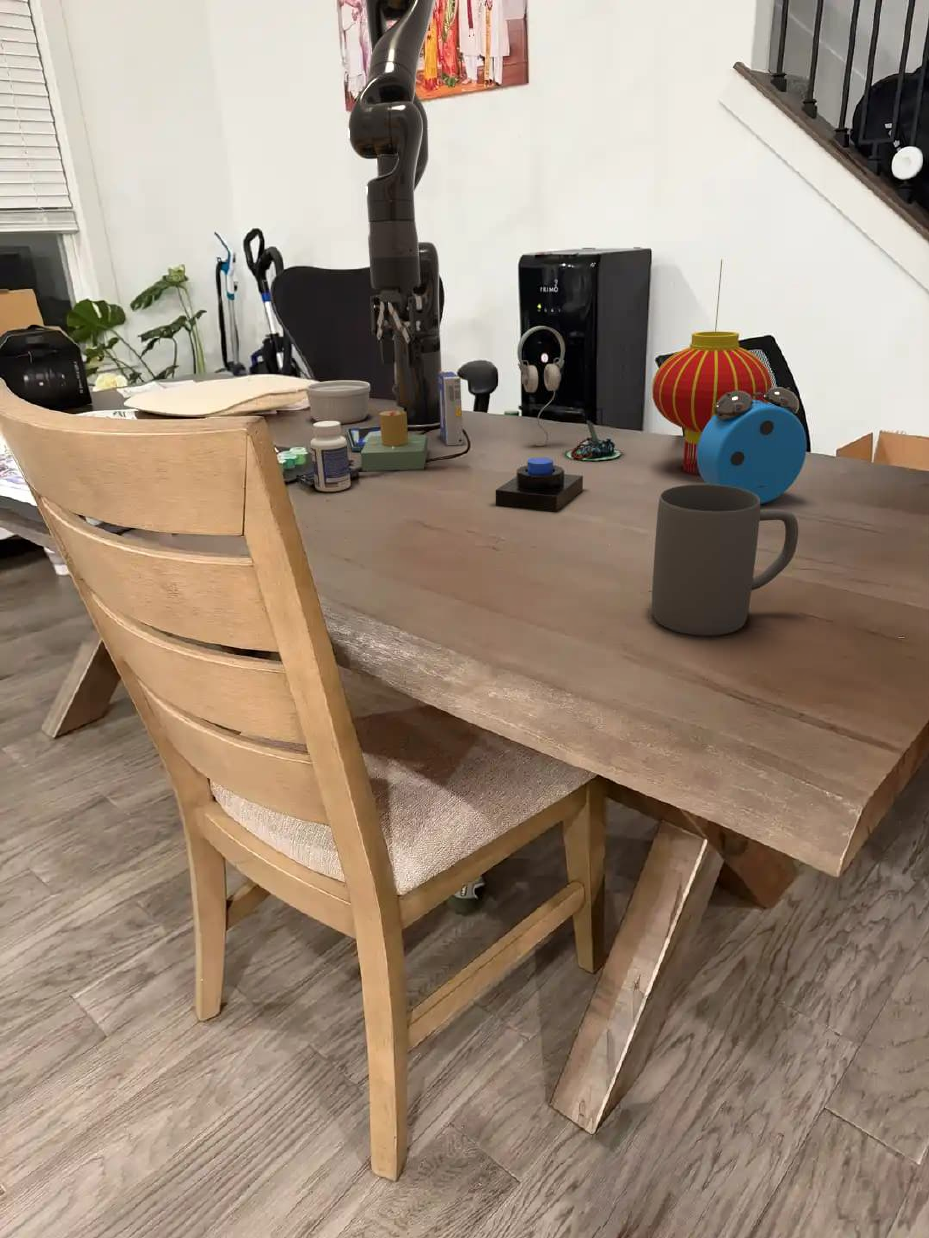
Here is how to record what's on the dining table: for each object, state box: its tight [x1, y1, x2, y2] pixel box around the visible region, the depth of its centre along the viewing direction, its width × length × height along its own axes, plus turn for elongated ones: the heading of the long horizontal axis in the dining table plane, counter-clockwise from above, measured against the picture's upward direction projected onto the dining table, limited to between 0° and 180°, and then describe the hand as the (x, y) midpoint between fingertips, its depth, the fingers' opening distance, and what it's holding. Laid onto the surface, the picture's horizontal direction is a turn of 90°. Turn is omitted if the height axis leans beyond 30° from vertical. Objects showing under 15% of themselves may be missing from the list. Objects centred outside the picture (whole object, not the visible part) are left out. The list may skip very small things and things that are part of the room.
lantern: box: [651, 259, 773, 475], centre depth 124 cm, size 17×17×30 cm
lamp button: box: [526, 457, 554, 474], centre depth 118 cm, size 4×4×2 cm
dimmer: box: [360, 434, 429, 472], centre depth 141 cm, size 12×10×3 cm
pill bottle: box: [310, 421, 351, 493], centre depth 126 cm, size 5×5×10 cm
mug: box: [651, 483, 799, 637], centre depth 80 cm, size 14×9×12 cm
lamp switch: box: [495, 464, 584, 512], centre depth 119 cm, size 11×9×4 cm
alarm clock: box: [696, 386, 808, 505], centre depth 112 cm, size 13×6×15 cm, turn 104°
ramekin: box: [305, 379, 371, 425], centre depth 175 cm, size 13×13×7 cm
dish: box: [566, 419, 622, 461], centre depth 141 cm, size 8×7×8 cm
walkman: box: [438, 370, 464, 446], centre depth 152 cm, size 8×3×12 cm, turn 11°
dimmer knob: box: [379, 409, 409, 446], centre depth 140 cm, size 4×4×5 cm
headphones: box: [516, 325, 566, 447], centre depth 144 cm, size 8×4×20 cm, turn 105°
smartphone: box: [346, 425, 381, 452], centre depth 156 cm, size 7×1×15 cm
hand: (401, 366), depth 134 cm, fingers open, 8 cm apart
